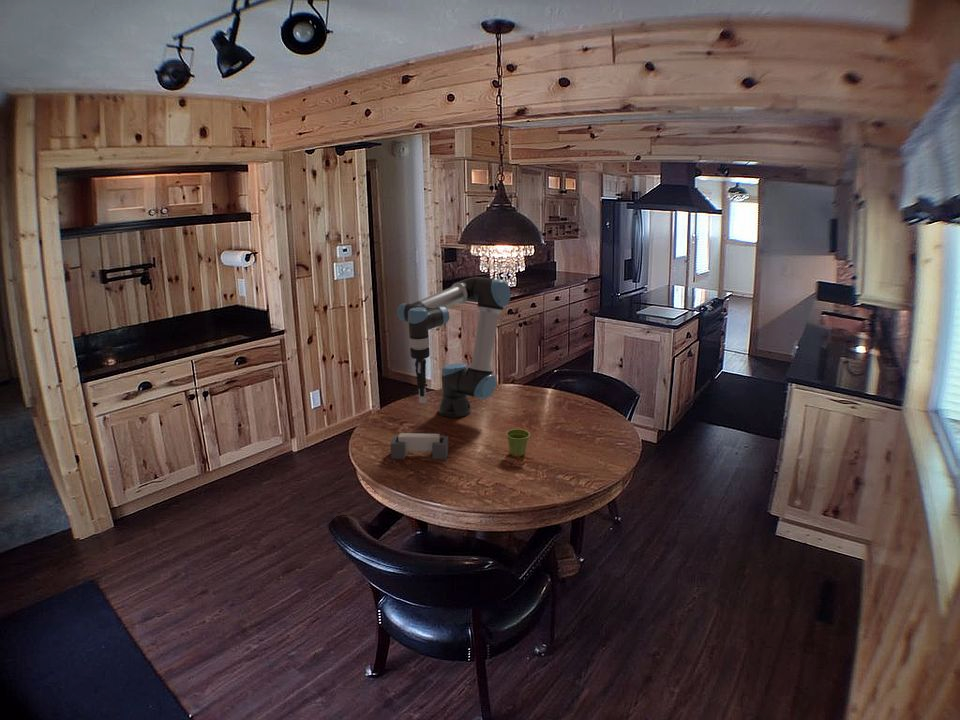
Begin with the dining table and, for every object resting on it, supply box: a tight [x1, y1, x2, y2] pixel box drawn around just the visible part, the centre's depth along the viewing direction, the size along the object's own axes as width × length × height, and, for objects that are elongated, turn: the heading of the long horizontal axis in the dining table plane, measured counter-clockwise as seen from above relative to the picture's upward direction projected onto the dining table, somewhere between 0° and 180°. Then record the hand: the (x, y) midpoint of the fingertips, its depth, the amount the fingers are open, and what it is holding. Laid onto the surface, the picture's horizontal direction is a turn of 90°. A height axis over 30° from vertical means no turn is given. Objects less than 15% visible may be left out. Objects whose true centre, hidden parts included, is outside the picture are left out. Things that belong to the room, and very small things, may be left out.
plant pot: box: [505, 428, 531, 457], centre depth 238 cm, size 9×9×9 cm
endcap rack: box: [390, 434, 449, 460], centre depth 238 cm, size 22×8×6 cm, turn 87°
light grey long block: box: [398, 432, 441, 452], centre depth 237 cm, size 16×4×6 cm, turn 88°
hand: (422, 402), depth 241 cm, fingers closed
